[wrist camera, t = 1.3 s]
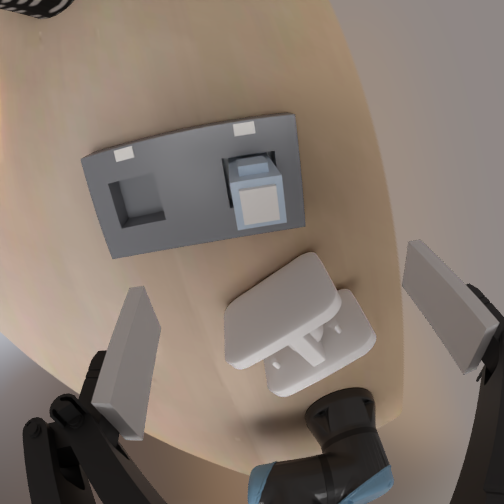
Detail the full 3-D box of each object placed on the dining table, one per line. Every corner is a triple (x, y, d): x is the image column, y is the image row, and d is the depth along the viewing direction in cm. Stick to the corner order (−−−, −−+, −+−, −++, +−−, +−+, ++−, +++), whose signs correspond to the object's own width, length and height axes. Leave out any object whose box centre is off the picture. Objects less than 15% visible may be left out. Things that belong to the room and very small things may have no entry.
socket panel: (298, 214, 36) (305, 226, 33) (120, 245, 36) (112, 259, 33) (287, 112, 30) (295, 114, 27) (93, 152, 30) (79, 159, 27)
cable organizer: (315, 239, 38) (347, 294, 28) (351, 291, 42) (383, 348, 32) (222, 302, 41) (223, 368, 31) (267, 343, 46) (278, 405, 36)
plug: (269, 187, 34) (288, 225, 24) (234, 192, 34) (238, 233, 24) (264, 145, 31) (282, 166, 22) (226, 150, 31) (227, 174, 22)
